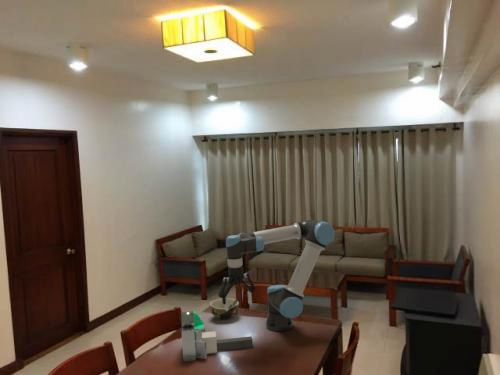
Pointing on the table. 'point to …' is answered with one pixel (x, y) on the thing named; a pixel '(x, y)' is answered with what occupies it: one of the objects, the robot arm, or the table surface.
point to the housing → (192, 338)
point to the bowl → (220, 309)
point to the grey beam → (224, 342)
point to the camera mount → (198, 322)
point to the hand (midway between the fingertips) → (238, 307)
